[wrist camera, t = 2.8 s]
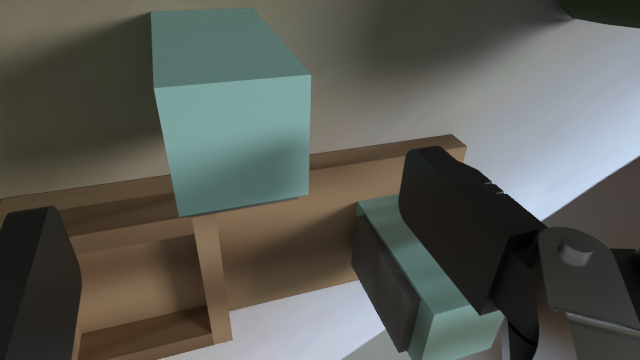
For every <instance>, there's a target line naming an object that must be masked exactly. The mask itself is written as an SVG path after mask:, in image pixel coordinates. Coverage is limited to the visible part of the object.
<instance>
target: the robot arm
mask: <svg viewBox="0 0 640 360" xmlns="http://www.w3.org/2000/svg"><path fill="white" fill-rule="evenodd" d="M398 206H399V211H400V214H401V217H402V219H403V221H404V222H405V224H406V225H407V226H408V227H409V229H410V230H411V231H412V232H413V234H414V235H415V236H416V237H417V239H418V240H419V241H420V242H421V243H422V245H423V246H424V247H425V248H426V250H427V251H428V252H429V253H430V255H431V256H432V257H433V258H434V260H435V261H436V262H437V263H438V265H439V266H440V267H441V268H442V270H443V271H444V272H445V273H446V275H447V276H448V277H449V278H450V280H451V281H452V282H453V283H454V285H455V286H456V287H457V288H458V290H459V291H460V292H461V293H462V295H463V296H464V297H465V298H466V300H467V301H468V302H469V303H470V304H471V306H472V307H473V308H474V309H475V311H476V312H477V313H478V314H479V316H482V315H485V314H489V313H492V312H495V311H498V310H500V311H501V312H502V314H503V315H504V319H503V321H502V324H501V335H502V357H503V360H640V245H639V247H638V248H637V249H609V248H608V247H607V246H606V245H605V244H603V243H602V242H601V241H600V240H598V239H596V238H595V237H593V236H591V235H589V234H587V233H585V232H582V231H579V230H576V229H573V228H568V227H550V228H548V227H547V226H545V225H544V224H543V223H542V222H541V221H539V220H538V219H537V218H536V217H534V216H533V215H532V214H531V213H530V212H528V211H527V210H526V209H525V208H523V207H522V206H521V205H520V204H519V203H517V202H516V201H515V200H514V199H513V198H511V197H510V196H509V195H508V194H504V193H503V190H502V189H500V188H499V187H498V186H497V185H495V184H492V181H491V180H489V179H488V178H487V177H486V176H484V175H483V174H482V173H481V172H480V171H478V170H477V169H475V168H473V167H470V166H468V165H466V164H464V163H462V162H460V161H457V160H456V159H455V158H454V157H453V156H451V155H450V154H449V153H448V152H447V151H445V150H444V149H443V148H442V147H440V146H430V147H424V148H418V149H412V150H409V151H408V152H407V154H406V157H405V162H404V168H403V174H402V180H401V186H400V192H399V198H398ZM81 291H82V277H81V270H80V266H79V262H78V259H77V257H76V254H75V252H74V249H73V247H72V244H71V242H70V239H69V237H68V234H67V231H66V229H65V226H64V224H63V221H62V219H61V216H60V214H59V212H58V210H57V209H56V207H54V206H46V207H39V208H33V209H27V210H20V211H14V212H9V213H8V214H7V215H6V217H5V219H4V222H3V224H2V227H1V229H0V360H71V359H72V352H73V345H74V339H75V332H76V325H77V318H78V311H79V305H80V298H81Z"/></svg>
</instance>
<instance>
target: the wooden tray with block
mask: <svg viewBox="0 0 640 360" xmlns="http://www.w3.org/2000/svg"><path fill="white" fill-rule="evenodd" d="M430 146H440V147H442V148H443V149H444V150H445V151H447V152H448V153H449V154H450V155H451V156H453V157H454V158H455V159H456V160H457V161H460V162H462V163H463V160H464V157H465V153H466V149H467V146H466V145H465V144H463V143H462V142H461V141H460V140H458V139H457V138H456V137H455V136H453V135H445V136H438V137H431V138H424V139H417V140H410V141H403V142H396V143H389V144H382V145H375V146H368V147H361V148H354V149H347V150H340V151H333V152H326V153H319V154H312V155H309V191H308V195H304V196H298V199H296V200H291V201H285V202H279V203H273V204H268V205H262V206H256V207H250V208H244V209H239V210H233V211H227V212H221V213H216V214H210V215H204V216H198V217H193V218H187V216H181V217H179V214H178V209H177V204H176V199H175V194H174V189H173V183H172V178H171V175H166V176H159V177H152V178H145V179H138V180H131V181H124V182H117V183H110V184H103V185H96V186H90V187H83V188H76V189H69V190H62V191H55V192H48V193H41V194H34V195H27V196H20V197H13V198H6V199H2V200H1V202H0V229H1V227H2V224H3V222H4V219H5V217H6V215H7V214H8V213H9V212H14V211H20V210H27V209H33V208H39V207H46V206H54V207H56V209H57V210H58V212H59V214H60V216H61V219H62V221H63V224H64V226H65V229H66V231H67V234H68V237H69V239H70V242H71V244H72V247H73V249H74V252H75V254H76V257H77V259H78V262H79V266H80V270H81V277H82V291H81V298H80V305H79V311H78V318H77V325H76V332H75V339H74V345H73V352H72V359H71V360H157V359H161V358H165V357H169V356H173V355H177V354H180V353H184V352H188V351H192V350H196V349H200V348H204V347H207V346H211V345H215V344H219V343H223V342H227V341H230V340H233V339H232V332H231V325H230V317H229V311H232V310H236V309H240V308H244V307H248V306H252V305H257V304H261V303H265V302H269V301H273V300H277V299H282V298H286V297H290V296H294V295H298V294H302V293H306V292H311V291H315V290H319V289H323V288H327V287H331V286H336V285H340V284H344V283H348V282H352V281H356V280H360V282H361V284H362V286H363V288H364V290H365V291H366V293H367V295H368V297H369V299H370V301H371V302H372V304H373V306H374V308H375V310H376V312H377V313H378V315H379V317H380V319H381V321H382V323H383V325H384V326H385V328H386V330H387V332H388V334H389V335H390V337H391V339H392V341H393V343H394V345H395V347H396V348H397V350H398V352H399V353H401V352H404V351H407V352H408V354H409V356H410V357H411V359H412V360H455V359H458V358H461V357H464V356H467V355H471V354H473V353H477V352H480V351H483V350H486V349H489V348H491V346H492V343H493V341H494V339H495V337H496V334H497V332H498V329H499V327H500V325H501V323H502V320H503V318H504V315H503V314H502V312H501V311H500V310H498V311H495V312H492V313H489V314H485V315H482V316H479V314H478V313H477V312H476V311H475V309H474V308H473V307H472V306H471V304H470V303H469V302H468V301H467V300H466V298H465V297H464V296H463V295H462V293H461V292H460V291H459V290H458V288H457V287H456V286H455V285H454V283H453V282H452V281H451V280H450V278H449V277H448V276H447V275H446V273H445V272H444V271H443V270H442V268H441V267H440V266H439V265H438V263H437V262H436V261H435V260H434V258H433V257H432V256H431V255H430V253H429V252H428V251H427V250H426V248H425V247H424V246H423V245H422V243H421V242H420V241H419V240H418V239H417V237H416V236H415V235H414V234H413V232H412V231H411V230H410V229H409V227H408V226H407V225H406V224H405V222H404V221H403V219H402V217H401V214H400V211H399V206H398V198H399V192H400V186H401V180H402V174H403V168H404V162H405V157H406V154H407V152H408V151H409V150H412V149H418V148H424V147H430Z"/></svg>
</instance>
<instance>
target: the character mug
mask: <svg viewBox="0 0 640 360" xmlns="http://www.w3.org/2000/svg"><path fill="white" fill-rule="evenodd" d="M560 5H561V6H562V7H563V9H564V10H565V11H566V12H567V13H568V14H569V15H570V16H571V17H572V18H575V19H580V20H586V21H591V22H596V23H602V24H608V25H616V26H624V27H633V28H640V0H560Z"/></svg>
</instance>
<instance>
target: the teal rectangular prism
mask: <svg viewBox="0 0 640 360" xmlns="http://www.w3.org/2000/svg"><path fill="white" fill-rule="evenodd" d="M151 31H152V57H153V84H154V92H155V97H156V103H157V108H158V113H159V118H160V123H161V128H162V133H163V138H164V143H165V148H166V153H167V158H168V163H169V168H170V173H171V178H172V183H173V189H174V194H175V199H176V204H177V209H178V214H179V217H181V216H187V218H193V217H198V216H204V215H210V214H216V213H221V212H227V211H233V210H239V209H244V208H250V207H256V206H262V205H268V204H273V203H279V202H285V201H291V200H296V199H298V196H304V195H308V191H309V149H310V106H311V74H310V73H309V71H308V70H307V69H306V68H305V67H304V66H303V65H302V64H301V62H300V61H299V60H298V59H297V58H296V57H295V56H294V54H293V53H292V52H291V51H290V50H289V49H288V48H287V46H286V45H285V44H284V43H283V42H282V41H281V40H280V39H279V37H278V36H277V35H276V34H275V33H274V32H273V31H272V29H271V28H270V27H269V26H268V25H267V24H266V23H265V21H264V20H263V19H262V18H261V17H260V16H259V15H258V14H257V12H256V11H255V10H254V9H253V8H239V9H213V10H187V11H160V12H151Z"/></svg>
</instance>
